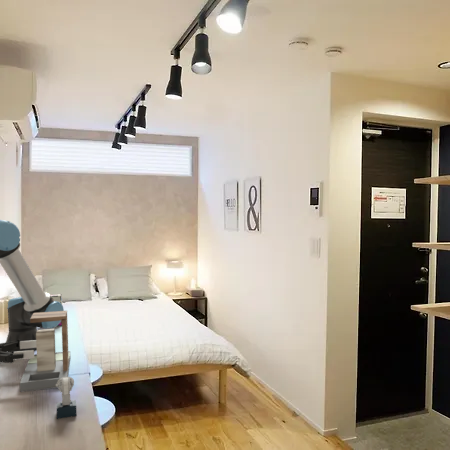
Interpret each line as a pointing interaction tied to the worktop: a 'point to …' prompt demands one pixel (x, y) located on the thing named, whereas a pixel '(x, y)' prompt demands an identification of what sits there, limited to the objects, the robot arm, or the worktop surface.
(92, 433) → the worktop surface
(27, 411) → the worktop surface
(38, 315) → the walnut tunnel
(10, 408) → the worktop surface
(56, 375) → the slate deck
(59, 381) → the watch
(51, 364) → the cream block
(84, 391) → the worktop surface
